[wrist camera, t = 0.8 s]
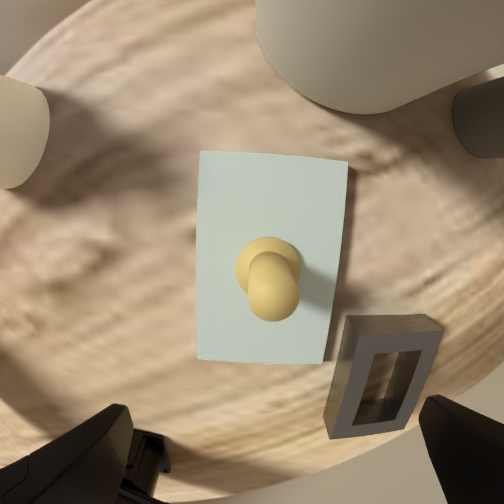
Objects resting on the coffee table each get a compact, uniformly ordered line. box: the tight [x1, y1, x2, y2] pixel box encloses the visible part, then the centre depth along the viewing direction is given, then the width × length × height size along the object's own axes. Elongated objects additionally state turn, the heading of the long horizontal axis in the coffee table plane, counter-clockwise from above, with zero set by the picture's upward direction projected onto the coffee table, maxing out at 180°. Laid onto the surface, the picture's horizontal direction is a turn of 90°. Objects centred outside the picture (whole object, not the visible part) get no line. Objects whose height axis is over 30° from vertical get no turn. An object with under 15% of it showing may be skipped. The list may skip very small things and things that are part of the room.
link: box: [323, 314, 443, 439], centre depth 20 cm, size 10×7×3 cm
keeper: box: [196, 151, 348, 364], centre depth 17 cm, size 14×9×6 cm, turn 177°
